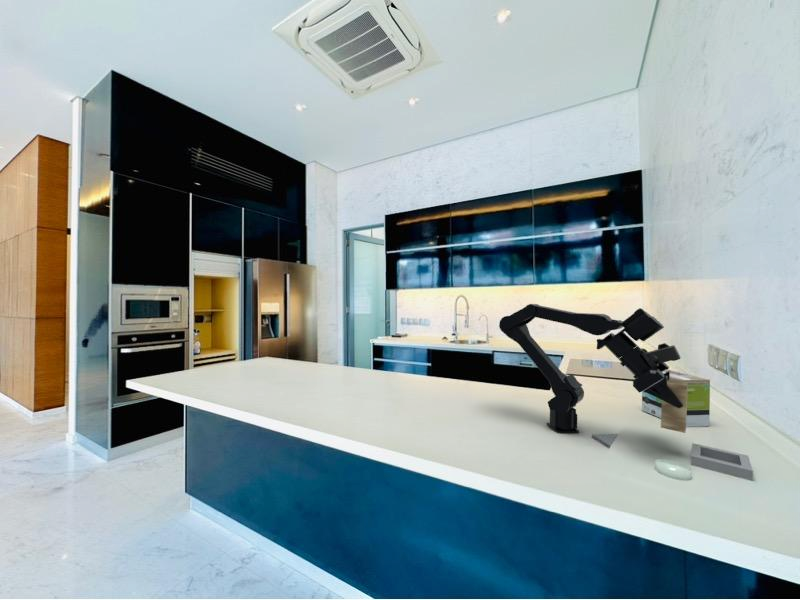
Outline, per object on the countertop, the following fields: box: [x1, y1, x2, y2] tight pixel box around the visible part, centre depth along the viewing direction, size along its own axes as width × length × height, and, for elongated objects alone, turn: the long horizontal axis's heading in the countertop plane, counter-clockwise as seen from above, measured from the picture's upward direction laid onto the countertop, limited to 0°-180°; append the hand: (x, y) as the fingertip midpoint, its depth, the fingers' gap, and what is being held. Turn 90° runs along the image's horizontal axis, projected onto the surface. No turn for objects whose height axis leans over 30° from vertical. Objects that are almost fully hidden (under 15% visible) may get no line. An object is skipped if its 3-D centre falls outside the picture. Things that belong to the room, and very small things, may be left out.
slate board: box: [591, 433, 619, 449], centre depth 85 cm, size 14×14×1 cm
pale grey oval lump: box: [654, 458, 693, 481], centre depth 71 cm, size 6×6×2 cm
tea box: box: [641, 369, 711, 428], centre depth 108 cm, size 15×10×15 cm, turn 5°
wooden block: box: [660, 380, 688, 434], centre depth 80 cm, size 4×4×11 cm
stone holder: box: [690, 442, 754, 481], centre depth 75 cm, size 10×10×3 cm
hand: (681, 404), depth 79 cm, fingers closed on wooden block, 4 cm apart
